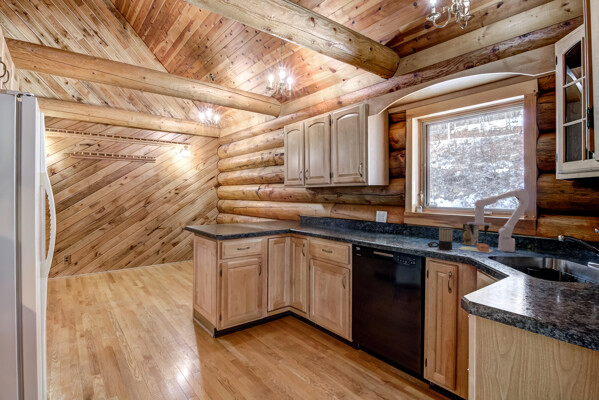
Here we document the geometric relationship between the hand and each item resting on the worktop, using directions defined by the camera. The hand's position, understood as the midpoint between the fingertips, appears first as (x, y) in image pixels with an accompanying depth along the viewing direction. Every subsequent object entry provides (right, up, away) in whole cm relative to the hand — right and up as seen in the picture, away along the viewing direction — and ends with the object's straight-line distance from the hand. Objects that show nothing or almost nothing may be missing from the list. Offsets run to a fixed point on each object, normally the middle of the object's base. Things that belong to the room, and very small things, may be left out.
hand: (478, 235), depth 218 cm
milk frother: (-29, -9, -2) cm, 31 cm away
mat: (-6, -9, -6) cm, 13 cm away
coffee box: (+2, -9, +14) cm, 17 cm away
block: (-3, -9, -10) cm, 14 cm away
